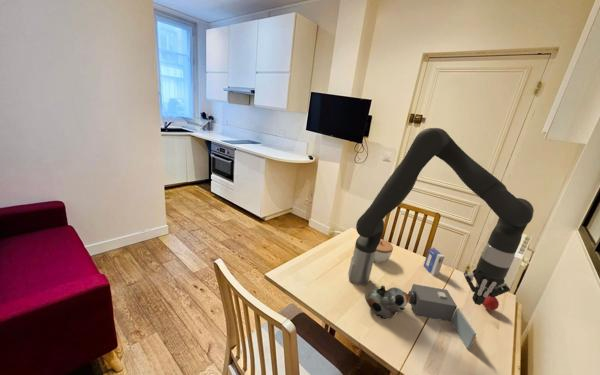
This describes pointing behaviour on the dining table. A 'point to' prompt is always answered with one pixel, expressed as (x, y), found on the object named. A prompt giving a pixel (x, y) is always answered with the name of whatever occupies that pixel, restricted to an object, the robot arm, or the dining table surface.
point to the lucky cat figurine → (387, 301)
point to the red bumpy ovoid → (491, 303)
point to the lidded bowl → (383, 251)
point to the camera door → (463, 328)
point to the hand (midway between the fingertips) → (476, 302)
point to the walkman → (433, 261)
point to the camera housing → (432, 302)
